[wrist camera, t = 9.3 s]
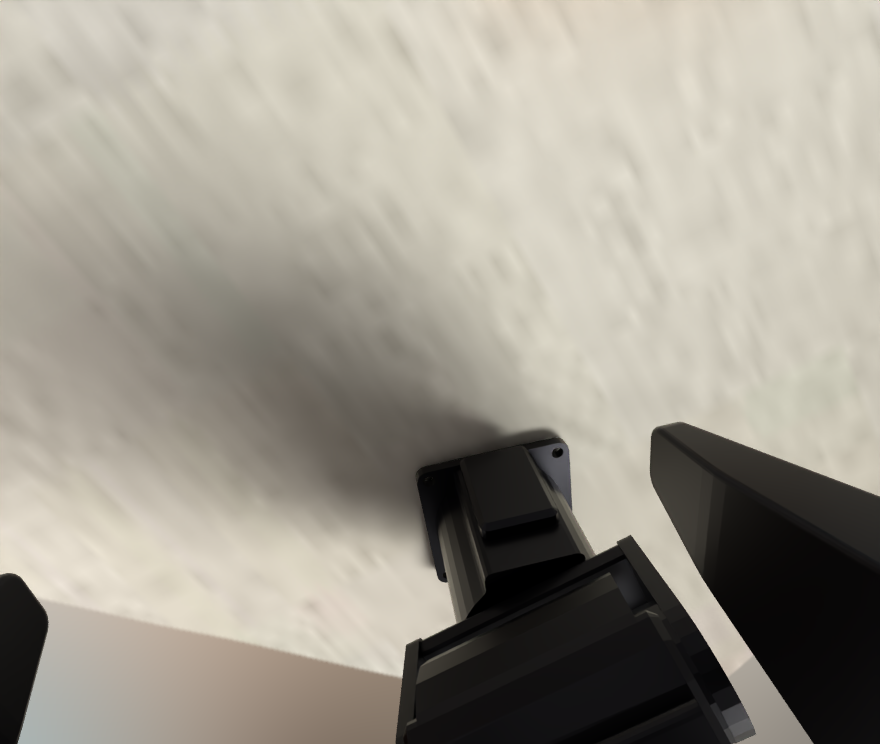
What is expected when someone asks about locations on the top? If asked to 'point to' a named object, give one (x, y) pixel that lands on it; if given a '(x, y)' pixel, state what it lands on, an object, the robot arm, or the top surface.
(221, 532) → the top surface
